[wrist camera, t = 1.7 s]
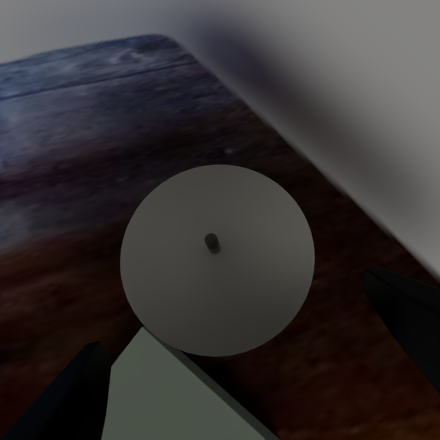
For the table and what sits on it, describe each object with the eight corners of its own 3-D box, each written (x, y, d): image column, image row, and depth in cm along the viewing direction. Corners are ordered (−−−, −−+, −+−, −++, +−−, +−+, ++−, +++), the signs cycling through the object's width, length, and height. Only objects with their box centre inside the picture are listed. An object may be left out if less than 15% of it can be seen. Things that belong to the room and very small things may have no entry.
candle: (283, 283, 18) (365, 214, 6) (241, 348, 17) (236, 425, 5) (225, 242, 19) (194, 118, 7) (182, 299, 18) (61, 263, 6)
